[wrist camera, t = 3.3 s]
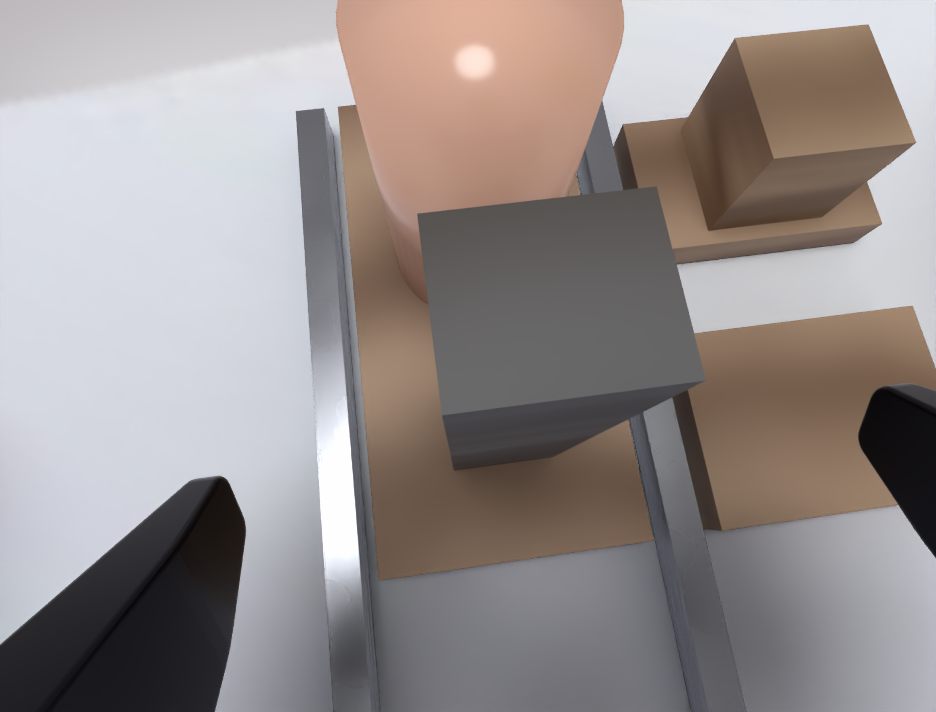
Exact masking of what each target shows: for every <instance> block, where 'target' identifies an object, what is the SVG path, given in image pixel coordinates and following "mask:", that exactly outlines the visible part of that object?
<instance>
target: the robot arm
mask: <svg viewBox="0 0 936 712" xmlns="http://www.w3.org/2000/svg"><path fill="white" fill-rule="evenodd" d="M858 441H859V445H860V447H861V449H862V451H863V453H864V454H865V456H866V457H867V459H868V460H869V462H870V463H871V465H872V466H873V468H874V469H875V471H876V472H877V474H878V475H879V477H880V478H881V480H882V481H883V483H884V484H885V486H886V487H887V489H888V490H889V492H890V493H891V495H892V496H893V498H894V499H895V501H896V502H897V504H898V505H899V507H900V508H901V510H902V511H903V513H904V514H905V516H906V517H907V519H908V520H909V522H910V523H911V525H912V526H913V528H914V529H915V531H916V532H917V533H918V535H919V536H920V538H921V539H922V541H923V542H924V543H925V545H926V546H927V547H928V549H929V550H930V551H931V552H932V554H933V555H934V556H935V558H936V391H935V390H932V389H929V388H926V387H922V386H919V385H916V384H911V383H903V384H895V385H888V386H882V387H880V388H877V389H876V390H875V391H874V392H873V394H872V396H871V398H870V401H869V404H868V406H867V409H866V412H865V415H864V417H863V420H862V423H861V426H860V428H859V432H858ZM245 537H246V526H245V520H244V517H243V514H242V512H241V510H240V507H239V505H238V503H237V500H236V498H235V495H234V493H233V491H232V488H231V486H230V484H229V482H228V480H227V479H226V478H224V477H222V476H213V477H206V478H198V479H194V480H191V481H189V482H188V483H187V484H185V485H184V486H183V487H182V488H181V489H180V490H178V491H177V492H176V493H175V494H174V495H173V496H171V497H170V498H169V499H168V500H167V501H166V502H165V503H163V504H162V505H161V506H160V507H159V508H158V509H156V510H155V511H154V512H153V513H152V514H151V515H149V516H148V517H147V518H146V519H145V520H144V521H143V522H141V523H140V524H139V525H138V526H137V527H136V528H134V529H133V530H132V531H131V532H130V533H129V534H128V535H126V536H125V537H124V538H123V539H122V540H121V541H119V542H118V543H117V544H116V545H115V546H114V547H112V548H111V549H110V550H109V551H108V552H107V553H106V554H104V555H103V556H102V557H101V558H100V559H99V560H97V561H96V562H95V563H94V564H93V565H92V566H91V567H89V568H88V569H87V570H86V571H85V572H84V573H82V574H81V575H80V576H79V577H78V578H77V579H75V580H74V581H73V582H72V583H71V584H70V585H69V586H67V587H66V588H65V589H64V590H63V591H62V592H60V593H59V594H58V595H57V596H56V597H55V598H54V599H52V600H51V601H50V602H49V603H48V604H47V605H45V606H44V607H43V608H42V609H41V610H40V611H38V612H37V613H36V614H35V615H34V616H33V617H32V618H30V619H29V620H28V621H27V622H26V623H25V624H23V625H22V626H21V627H20V628H19V629H18V630H17V631H15V632H14V633H13V634H12V635H11V636H10V637H8V638H7V639H6V640H5V641H4V642H3V643H1V644H0V712H215V709H216V705H217V701H218V697H219V693H220V688H221V684H222V680H223V676H224V672H225V668H226V664H227V659H228V655H229V650H230V645H231V639H232V633H233V626H234V619H235V612H236V604H237V597H238V589H239V582H240V575H241V567H242V560H243V552H244V545H245Z"/></svg>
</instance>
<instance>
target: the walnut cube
mask: <svg viewBox="0 0 936 712" xmlns="http://www.w3.org/2000/svg"><path fill="white" fill-rule="evenodd" d="M681 134H682V138H683V141H684V145H685V149H686V152H687V156H688V159H689V163H690V167H691V170H692V174H693V178H694V181H695V185H696V188H697V192H698V196H699V199H700V203H701V207H702V210H703V214H704V218H705V221H706V225H707V228H708V231H712V230H720V229H728V228H737V227H745V226H754V225H762V224H771V223H779V222H787V221H796V220H804V219H813V218H821V217H823V216H824V215H825V214H827V213H828V212H829V211H830V210H832V209H833V208H834V207H835V206H837V205H838V204H839V203H841V202H842V201H843V200H844V199H846V198H847V197H848V196H849V195H851V194H852V193H853V192H854V191H856V190H857V189H858V188H859V187H861V186H862V185H863V184H865V183H866V182H867V181H868V180H870V179H871V178H872V177H873V176H875V175H876V174H877V173H878V172H880V171H881V170H882V169H883V168H885V167H886V166H887V165H889V164H890V163H891V162H892V161H894V160H895V159H896V158H897V157H899V156H900V155H901V154H902V153H904V152H905V151H906V150H907V149H909V148H910V147H911V146H913V145H914V144H915V143H916V141H915V139H914V136H913V134H912V131H911V129H910V126H909V124H908V121H907V119H906V116H905V114H904V111H903V109H902V106H901V104H900V101H899V99H898V96H897V94H896V91H895V89H894V86H893V84H892V82H891V79H890V77H889V74H888V72H887V69H886V67H885V64H884V62H883V59H882V57H881V54H880V52H879V49H878V47H877V44H876V42H875V39H874V37H873V34H872V32H871V30H870V27H869V25H859V26H849V27H839V28H829V29H819V30H810V31H800V32H790V33H780V34H770V35H760V36H751V37H741V38H735V39H734V41H733V42H732V44H731V46H730V47H729V49H728V51H727V52H726V54H725V56H724V57H723V59H722V61H721V63H720V64H719V66H718V68H717V69H716V71H715V73H714V74H713V76H712V78H711V80H710V81H709V83H708V85H707V86H706V88H705V90H704V91H703V93H702V95H701V97H700V98H699V100H698V102H697V103H696V105H695V107H694V108H693V110H692V112H691V113H690V115H689V117H688V119H687V120H686V122H685V124H684V125H683V127H682V129H681Z"/></svg>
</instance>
